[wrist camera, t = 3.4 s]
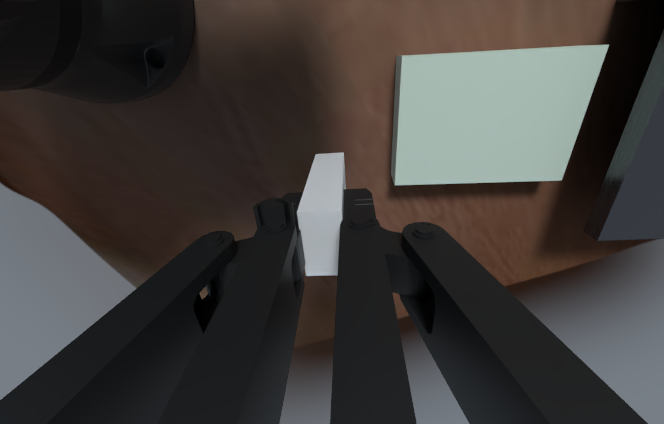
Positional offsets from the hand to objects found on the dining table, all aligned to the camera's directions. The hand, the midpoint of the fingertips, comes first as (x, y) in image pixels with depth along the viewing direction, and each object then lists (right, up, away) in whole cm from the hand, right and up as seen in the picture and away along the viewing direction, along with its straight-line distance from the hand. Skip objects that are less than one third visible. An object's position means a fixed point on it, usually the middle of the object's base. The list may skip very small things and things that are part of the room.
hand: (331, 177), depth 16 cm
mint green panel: (+12, +6, +9) cm, 17 cm away
